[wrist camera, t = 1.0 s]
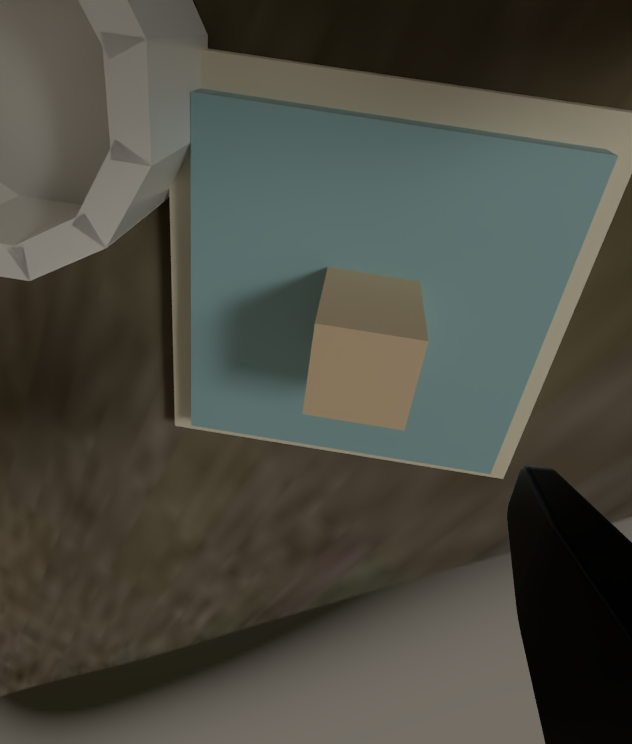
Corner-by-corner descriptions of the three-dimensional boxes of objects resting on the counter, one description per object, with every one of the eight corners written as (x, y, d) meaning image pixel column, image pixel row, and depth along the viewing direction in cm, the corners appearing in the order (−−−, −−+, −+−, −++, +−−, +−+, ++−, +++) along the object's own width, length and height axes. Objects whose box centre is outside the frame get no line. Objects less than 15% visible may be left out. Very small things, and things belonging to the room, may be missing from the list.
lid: (606, 148, 16) (685, 193, 12) (486, 457, 22) (510, 557, 18) (200, 88, 16) (136, 110, 12) (198, 410, 23) (156, 498, 18)
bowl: (209, -131, 14) (137, -196, 10) (205, 242, 20) (157, 301, 15) (-166, -183, 14) (-392, -269, 10) (-68, 200, 20) (-189, 246, 16)
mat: (644, 112, 16) (655, 116, 15) (499, 465, 24) (503, 478, 23) (174, 43, 16) (165, 44, 16) (180, 414, 24) (175, 425, 23)
